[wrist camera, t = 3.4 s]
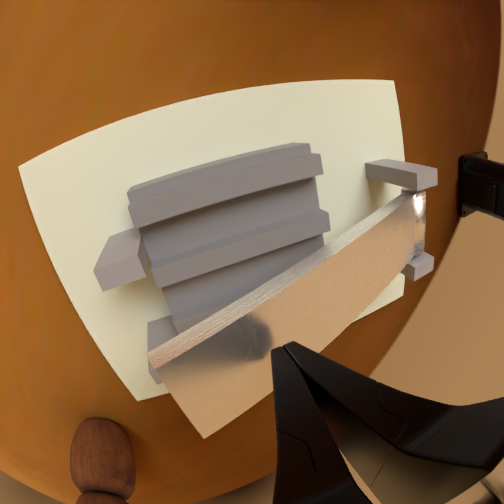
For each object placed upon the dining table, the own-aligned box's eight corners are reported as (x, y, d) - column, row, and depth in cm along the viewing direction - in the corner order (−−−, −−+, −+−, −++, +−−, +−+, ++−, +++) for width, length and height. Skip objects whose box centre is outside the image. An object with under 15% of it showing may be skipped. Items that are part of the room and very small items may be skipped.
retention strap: (406, 185, 16) (428, 188, 14) (406, 242, 17) (427, 247, 16) (141, 346, 8) (160, 378, 6) (188, 418, 9) (210, 446, 8)
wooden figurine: (128, 449, 22) (149, 577, 8) (75, 438, 19) (78, 568, 6) (136, 415, 20) (161, 575, 7) (73, 401, 18) (69, 564, 4)
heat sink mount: (384, 81, 16) (443, 76, 11) (396, 290, 24) (437, 320, 19) (25, 165, 12) (-27, 178, 7) (137, 391, 19) (140, 449, 14)
